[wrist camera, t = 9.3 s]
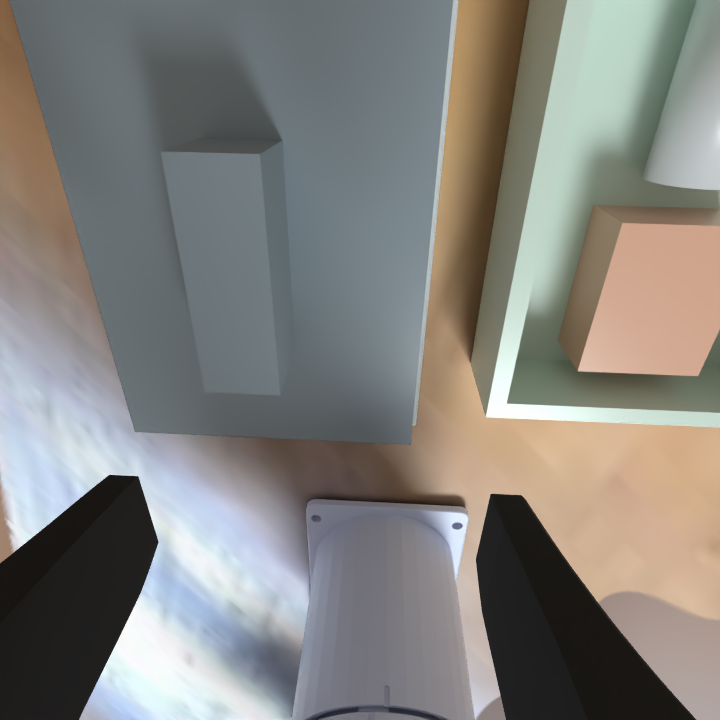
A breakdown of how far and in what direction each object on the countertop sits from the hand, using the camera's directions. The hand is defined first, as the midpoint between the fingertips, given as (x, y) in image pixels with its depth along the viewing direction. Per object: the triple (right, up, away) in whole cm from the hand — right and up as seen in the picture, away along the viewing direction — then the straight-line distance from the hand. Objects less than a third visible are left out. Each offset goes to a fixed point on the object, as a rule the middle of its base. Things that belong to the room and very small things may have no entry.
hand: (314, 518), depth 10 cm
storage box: (+11, +9, +6) cm, 15 cm away
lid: (-2, +7, +7) cm, 10 cm away
